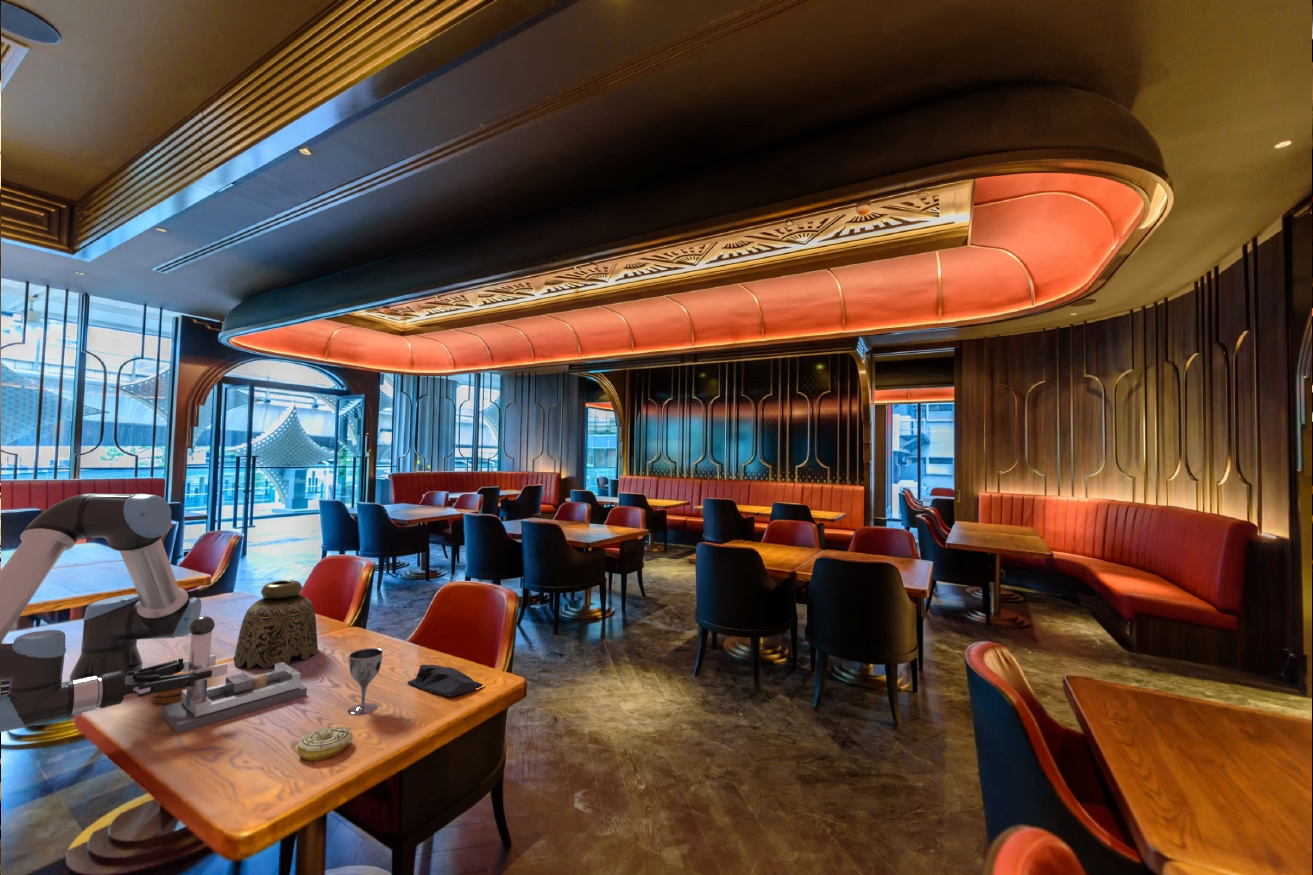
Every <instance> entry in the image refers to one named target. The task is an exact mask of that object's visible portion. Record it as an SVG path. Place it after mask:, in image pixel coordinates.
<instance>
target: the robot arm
mask: <svg viewBox="0 0 1313 875" xmlns="http://www.w3.org/2000/svg"><path fill="white" fill-rule="evenodd" d="M171 516H172V508H171V507H170V504H169V503H168V502H167V500H166V499H165V498H164V497H162V496H159V495H156V494H147V493H133V494H132V493H93V492H92V493H81V494H78V495H72V496H71V497H68V498H65V499H63V500H61V501H59V502H57V503H55V504H53V505H51V506H50V507H48V508H46V509H45V510H44V511H42V512H41V513H40V514H39V515H37V516H36V517H35V518H34V519H33V520H32V521H30V522H29V523H28V525H27V526H26V527H25V529H23V531H22V533H21V534H20V536H19V539H20V540H21V543H20V544H19V545H18V547H17V548H16V549H15V550H14V552H13V553H12V555H11V556H10V558H9V559H8V560H7V561H6V563H5V564H4V566H3V567H2V568H1V569H0V682H3V681H4V682H5V681H8V682H9V686H8V693H4V694H2V695H0V733H3V732H9V731H14V730H19V729H25V728H28V727H32V726H36V725H39V724H43V723H47V722H51V721H55V720H58V719H62V718H67V717H71V716H74V715H75V716H76V717H80V716H81V715H82V714H83V713H87V712H91V711H95V710H96V709H97V708H100V709H104V708H109V707H112V706H116V705H117V706H118V705H120V704H122V703H123V701H124V698H125V697H126V696H127V695H137V698H142V697H145V696H149V695H153V694H154V693H159V692H164V691H169V690H174V689H180V688H185V687H192V686H195V682H197V681H201V680H205V679H208V680H209V679H212V678H216V677H221V676H226V675H227V673H228V663H227V662H225V663H220V664H217V663H216V661H217V660H216V659H217V655H216V654H210V657H209V667H207V668H203V669H198V670H194V672H191V673H188V669H189V659H188V660H184V658H182V657H181V658H178V660H177V659H175V660H171V661H167V662H164V663H160V664H156V665H155V664H154V665H152V666H148V667H145V668H143V664H144V663H143V660H142V657H141V654H140V652H139V648H138V647H137V643H138V642H137V641H138V640H154V639H158V640H159V639H176V638H182V637H186V636H188V635H189V634H190V635H191V633H190V630H189V628H190V625H191V623H192V622H193V621H194V620H195V619H197V618H199V617H201V611H202V600H201V599H200V598H199V597H194V596H193V597H190V596H189V594H188V592H187V590H185V589H184V588H181V587H179V585H178V583H177V579H176V576H175V575H174V571H173V569H172V566H171V563H170V560H169V557H168V554H167V552H166V549H165V546H164V543H163V540H162V539H163V537H164V536H165V534H166V533H168V531H169V530H170V527H171V524H172V517H171ZM86 538H88V539H89V538H91V539H94V538H95V539H96V538H97V539H98V538H99V539H100V538H101V539H105V540H106V543H107V545H108V547H109V548H110V549H112V550H113V551H117V552H119V553H120V555H121V558H122V561H123V562H124V565H125V568H126V569H127V572H128V574H129V577H130V579H131V582H132V584H133V586H134V589H135V591H136V594H135V593H133V594H126V595H120V596H113V597H109V598H105V599H101V600H97V601H94V602H92V603H90V604H89V605H88V606H87V607H86V609H85V613H84V617H83V620H82V621H83V625H82V626H83V628H82V638H81V639H82V640H81V651H80V655H79V657H78V659H77V661H76V663H75V665H74V667H73V668H72V671H71V673H70V675H69V680H68V681H64V682H63V671H64V664H65V663H64V662H65V655H66V652H67V647H66V634H65V632H64V631H62V630H58V629H47V630H46V629H45V630H40V631H38V630H37V631H32V632H28V633H24V634H22V635H21V634H20V635H19V636H17V637H16V638H15V639H14V641H13V643H3V641H4V640H5V638H6V637H7V636H8V633H9V632H10V631H11V629H12V628H13V626H14V625H15V623H16V622H17V621H18V619H19V618H20V616H21V615H22V613H23V612H24V611H25V609H26V607H27V606H28V604H29V603H30V602H31V600H32V598H33V597H34V596H35V595H36V593H37V591H38V590H39V588H40V587H41V585H42V584H43V583H44V581H45V579H46V578H47V577H48V576H49V573H51V571H52V570H53V568H54V566H55V565H56V563H57V562H58V561H59V559H60V558H61V556H62V554H63V553H64V552H65V551H66V552H67V551H69V550H71V549H72V548H74V546H75V545H76V544H77V541H79V540H81V539H86ZM216 664H217V665H216ZM181 672H183V673H181ZM187 679H188V681H187ZM154 695H155V694H154Z"/></svg>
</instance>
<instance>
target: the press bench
mask: <svg viewBox="0 0 1313 875" xmlns="http://www.w3.org/2000/svg"><path fill="white" fill-rule="evenodd" d="M279 683H281V682H279V681H278V680H273V681H269V682H267V687H268V686H272V685H276V684H279ZM307 692H308V688H307V687H306V686H305V685H303V684H302V683H300V688H297V689H293V690H290V691H286V692H282V693H279V694H275V695H272V696H268V697H265V698H261V699H258V700H254V701H251V702H247V703H244V704H240V705H237V706H233V707H230V708H226V709H223V710H219V711H216V712H212V713H209V714H205V715H201V716H198V717H194V715H193V714H192V713H191V712H190V711H189V710H188V709H187V708H186V707H185V706H184V705H183V704H182V703H181V702H177V703H172V704H166V705H163V706H161V711H160V713H161V714H160V715H161V716H162V718H163V719H164V720H165V721H166V722H167V723H168V725H169V726H170V727H171V729H173V731H174V732H175V733H176V734H179V733H184V732H186V731H191V730H194V729H197V728H200V727H204V726H208V725H210V724H214V723H217V722H221V721H224V720H226V719H227V720H228V719H230V718H231V719H232V718H233V717H237V716H241V715H245V714H248V713H251V712H254V711H257V710H260V709H264V708H265V709H266V708H267V707H271V706H275V705H278V704H281V703H284V702H288V701H292V700H295V699H298V698H302V697H304V696H307ZM224 698H227V697H225V693H224V694H220V695H216V696H212V697H209V699H210V700H211V702H213V701H216V700H220V699H224Z"/></svg>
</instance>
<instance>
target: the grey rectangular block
mask: <svg viewBox="0 0 1313 875" xmlns="http://www.w3.org/2000/svg"><path fill="white" fill-rule="evenodd" d="M250 677H251V676H249V675H248V674H246V673H245V672H242V673H237V674H232V675H230V676H229V675H228V676H226V677H225V683H226V684H225V697H227V698H228V697H231V696H235V695H239V694H242V693H246V692H250V691H252V684H253V679H252V678H250Z"/></svg>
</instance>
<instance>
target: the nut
mask: <svg viewBox="0 0 1313 875" xmlns="http://www.w3.org/2000/svg"><path fill="white" fill-rule="evenodd" d="M249 677H250V678H252V679H253V684H252V691H253V690H257V689H261V688H264V687H267V677H268V675H267V674H264V673H260V674H256V675H255V674H254V675H253V676H249Z"/></svg>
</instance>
